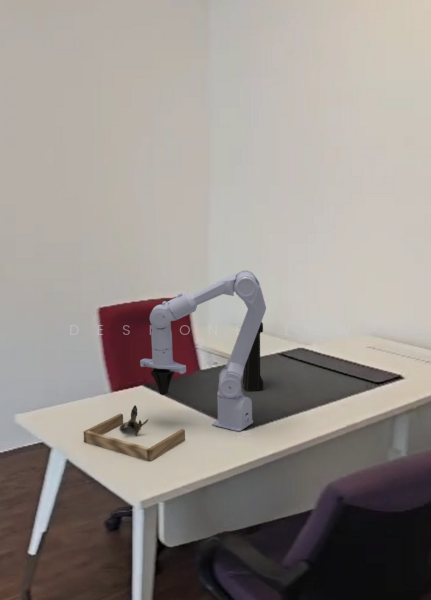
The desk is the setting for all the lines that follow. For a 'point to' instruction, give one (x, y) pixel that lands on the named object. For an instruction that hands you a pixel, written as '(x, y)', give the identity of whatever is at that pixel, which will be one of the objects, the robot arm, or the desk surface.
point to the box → (149, 454)
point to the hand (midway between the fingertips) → (163, 393)
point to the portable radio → (253, 366)
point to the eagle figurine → (133, 421)
